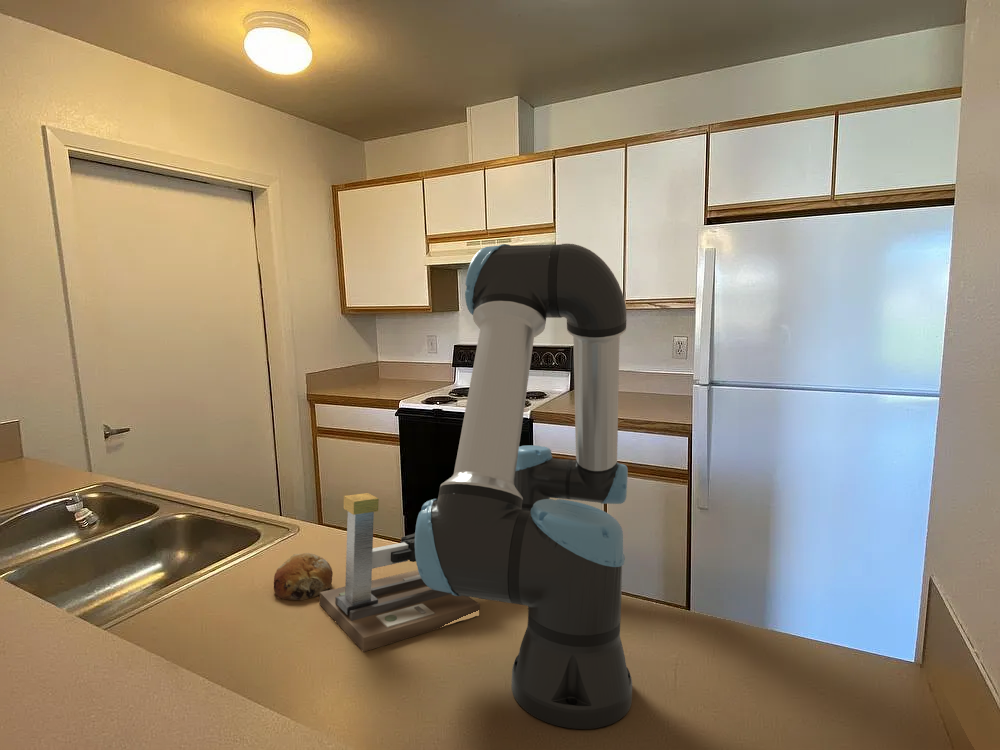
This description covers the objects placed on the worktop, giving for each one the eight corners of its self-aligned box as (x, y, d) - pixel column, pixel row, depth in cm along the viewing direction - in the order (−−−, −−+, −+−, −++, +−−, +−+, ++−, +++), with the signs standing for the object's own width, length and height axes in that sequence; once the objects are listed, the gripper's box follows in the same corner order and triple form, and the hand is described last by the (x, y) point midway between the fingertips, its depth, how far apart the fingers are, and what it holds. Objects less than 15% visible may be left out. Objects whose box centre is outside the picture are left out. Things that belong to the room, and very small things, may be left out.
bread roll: (336, 603, 100) (344, 557, 103) (315, 601, 90) (325, 551, 94) (284, 599, 100) (293, 554, 104) (258, 597, 91) (269, 547, 94)
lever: (377, 607, 85) (381, 498, 85) (347, 615, 82) (350, 502, 82) (367, 597, 89) (370, 492, 88) (337, 605, 86) (340, 496, 85)
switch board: (479, 616, 89) (480, 596, 89) (363, 651, 77) (364, 629, 77) (424, 578, 103) (425, 562, 103) (319, 604, 91) (320, 585, 91)
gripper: (510, 566, 96) (386, 597, 81) (468, 544, 106) (352, 569, 92) (511, 523, 96) (387, 547, 81) (470, 506, 106) (353, 524, 92)
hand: (369, 559), depth 87 cm, fingers closed
